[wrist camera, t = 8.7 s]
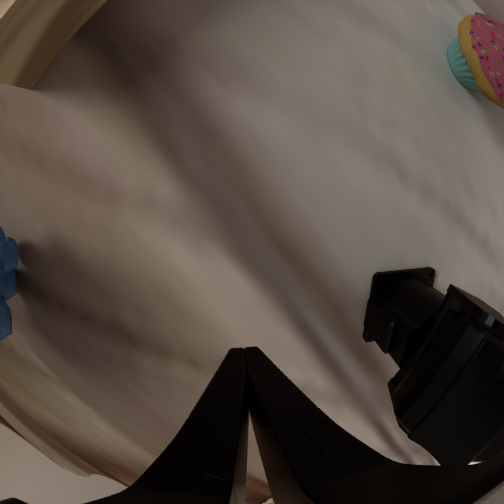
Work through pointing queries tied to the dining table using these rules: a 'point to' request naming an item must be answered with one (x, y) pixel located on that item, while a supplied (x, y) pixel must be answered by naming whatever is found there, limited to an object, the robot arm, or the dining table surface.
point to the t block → (37, 35)
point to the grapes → (7, 281)
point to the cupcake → (480, 56)
